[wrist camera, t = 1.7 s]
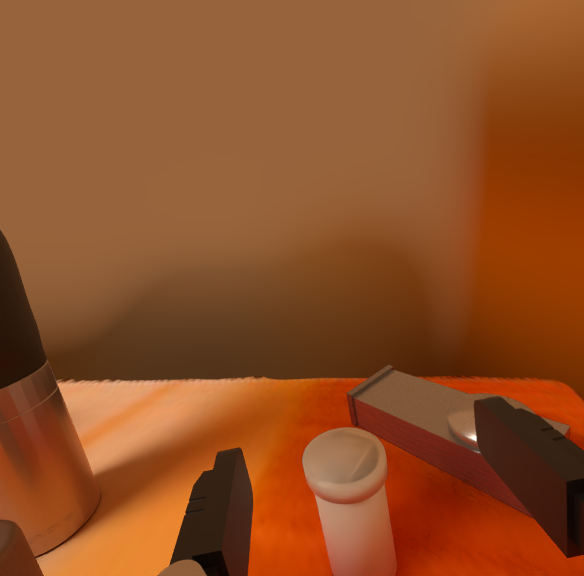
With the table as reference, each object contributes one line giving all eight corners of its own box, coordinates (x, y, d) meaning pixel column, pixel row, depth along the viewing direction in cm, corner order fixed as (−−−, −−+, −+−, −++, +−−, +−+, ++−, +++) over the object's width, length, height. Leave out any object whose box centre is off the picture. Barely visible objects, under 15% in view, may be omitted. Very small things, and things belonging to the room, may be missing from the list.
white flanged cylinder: (310, 561, 28) (286, 458, 25) (359, 512, 31) (342, 418, 29) (367, 625, 23) (344, 506, 20) (418, 559, 26) (403, 450, 24)
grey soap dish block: (351, 423, 43) (345, 387, 42) (392, 392, 48) (387, 359, 46) (537, 522, 27) (535, 468, 26) (570, 461, 32) (570, 413, 30)
